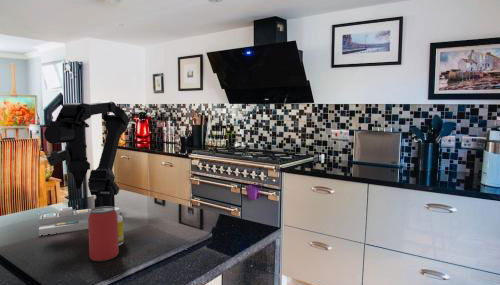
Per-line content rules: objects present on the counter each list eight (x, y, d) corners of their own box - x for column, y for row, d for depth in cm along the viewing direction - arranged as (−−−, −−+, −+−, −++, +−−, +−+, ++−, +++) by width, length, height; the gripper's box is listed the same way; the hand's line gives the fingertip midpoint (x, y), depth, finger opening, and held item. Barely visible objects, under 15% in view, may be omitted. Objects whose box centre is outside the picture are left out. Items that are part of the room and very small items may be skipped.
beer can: (95, 252, 85) (93, 206, 84) (122, 251, 85) (120, 205, 85) (85, 263, 78) (83, 213, 77) (113, 261, 79) (112, 212, 78)
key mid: (72, 212, 109) (72, 206, 109) (72, 215, 106) (72, 209, 106) (60, 214, 107) (60, 208, 107) (60, 217, 104) (60, 210, 104)
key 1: (56, 219, 106) (56, 213, 106) (56, 222, 104) (55, 215, 103) (43, 220, 105) (43, 214, 105) (43, 223, 102) (43, 217, 102)
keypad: (90, 216, 116) (89, 206, 116) (93, 228, 104) (92, 215, 104) (41, 223, 109) (41, 211, 109) (39, 236, 97) (38, 223, 97)
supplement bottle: (128, 241, 92) (126, 207, 91) (114, 249, 87) (112, 212, 86) (112, 239, 94) (111, 205, 93) (97, 246, 88) (96, 210, 88)
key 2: (88, 215, 111) (87, 209, 111) (88, 217, 108) (88, 211, 108) (76, 216, 109) (76, 210, 109) (77, 219, 106) (76, 213, 106)
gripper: (47, 141, 112) (49, 186, 113) (46, 144, 96) (49, 197, 97) (84, 140, 117) (86, 183, 118) (89, 142, 101) (91, 193, 102)
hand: (78, 189), depth 109 cm, fingers closed
